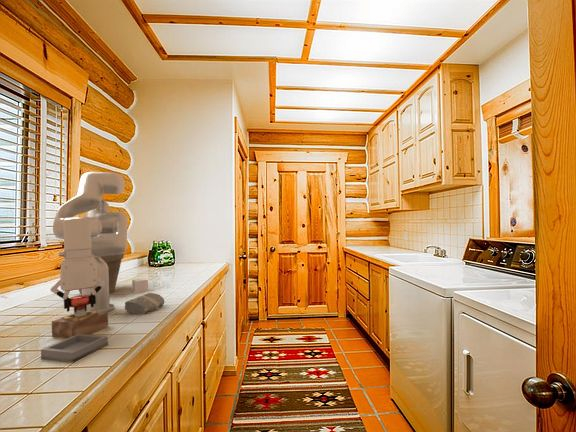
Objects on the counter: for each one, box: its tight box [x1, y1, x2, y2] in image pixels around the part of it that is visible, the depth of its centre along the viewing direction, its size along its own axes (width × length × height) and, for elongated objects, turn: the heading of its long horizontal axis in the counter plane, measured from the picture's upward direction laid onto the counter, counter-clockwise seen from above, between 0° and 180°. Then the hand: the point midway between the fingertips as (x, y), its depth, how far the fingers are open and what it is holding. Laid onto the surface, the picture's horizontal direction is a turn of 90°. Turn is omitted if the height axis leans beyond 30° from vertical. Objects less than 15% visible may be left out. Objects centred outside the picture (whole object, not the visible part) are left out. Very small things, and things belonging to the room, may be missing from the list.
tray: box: [40, 334, 109, 363], centre depth 87 cm, size 11×11×2 cm
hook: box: [69, 294, 91, 318], centre depth 103 cm, size 6×6×12 cm
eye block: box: [51, 311, 109, 339], centre depth 103 cm, size 11×11×6 cm
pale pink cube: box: [131, 277, 149, 294], centre depth 158 cm, size 6×6×6 cm
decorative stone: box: [124, 292, 166, 316], centre depth 124 cm, size 13×10×6 cm
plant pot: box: [78, 253, 125, 295], centre depth 156 cm, size 25×25×22 cm
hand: (80, 307), depth 102 cm, fingers closed on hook, 6 cm apart
